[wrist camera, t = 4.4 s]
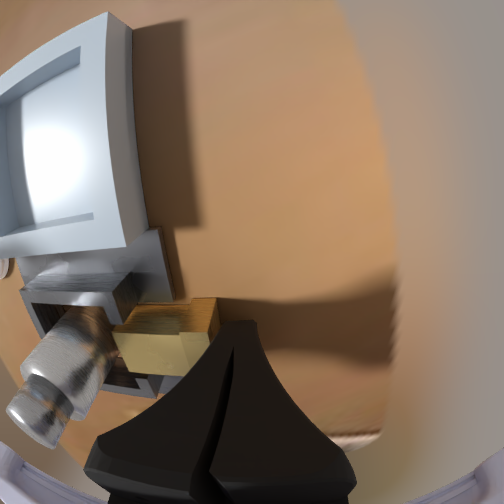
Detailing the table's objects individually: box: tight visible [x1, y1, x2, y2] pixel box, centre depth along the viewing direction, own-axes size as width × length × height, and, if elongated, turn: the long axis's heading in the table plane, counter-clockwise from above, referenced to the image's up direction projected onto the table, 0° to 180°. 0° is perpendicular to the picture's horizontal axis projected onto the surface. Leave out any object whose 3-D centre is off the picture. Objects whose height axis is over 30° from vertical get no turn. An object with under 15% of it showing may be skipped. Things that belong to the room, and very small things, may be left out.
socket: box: [15, 226, 184, 399], centre depth 11 cm, size 9×9×2 cm
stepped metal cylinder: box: [6, 305, 120, 449], centre depth 8 cm, size 3×3×7 cm
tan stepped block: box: [111, 298, 221, 376], centre depth 10 cm, size 3×4×2 cm
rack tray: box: [0, 12, 149, 259], centre depth 7 cm, size 8×8×2 cm
